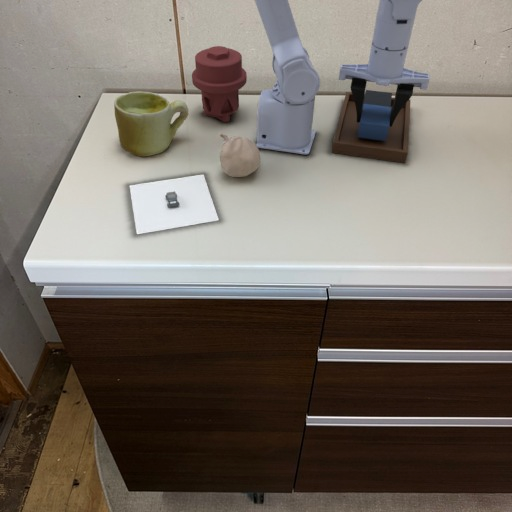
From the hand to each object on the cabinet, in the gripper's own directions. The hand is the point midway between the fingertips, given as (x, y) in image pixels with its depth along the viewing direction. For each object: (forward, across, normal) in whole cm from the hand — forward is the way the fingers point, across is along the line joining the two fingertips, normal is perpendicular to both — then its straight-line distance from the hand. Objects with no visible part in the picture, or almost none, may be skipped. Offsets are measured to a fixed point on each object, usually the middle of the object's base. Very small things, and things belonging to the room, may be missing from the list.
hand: (374, 121), depth 85 cm
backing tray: (+3, 0, +2) cm, 4 cm away
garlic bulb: (+3, -20, -18) cm, 27 cm away
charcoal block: (+2, 0, +8) cm, 8 cm away
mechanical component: (+3, -29, 0) cm, 29 cm away
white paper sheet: (+3, -28, -28) cm, 40 cm away
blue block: (+2, 0, 0) cm, 2 cm away
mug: (+3, -37, -12) cm, 39 cm away
